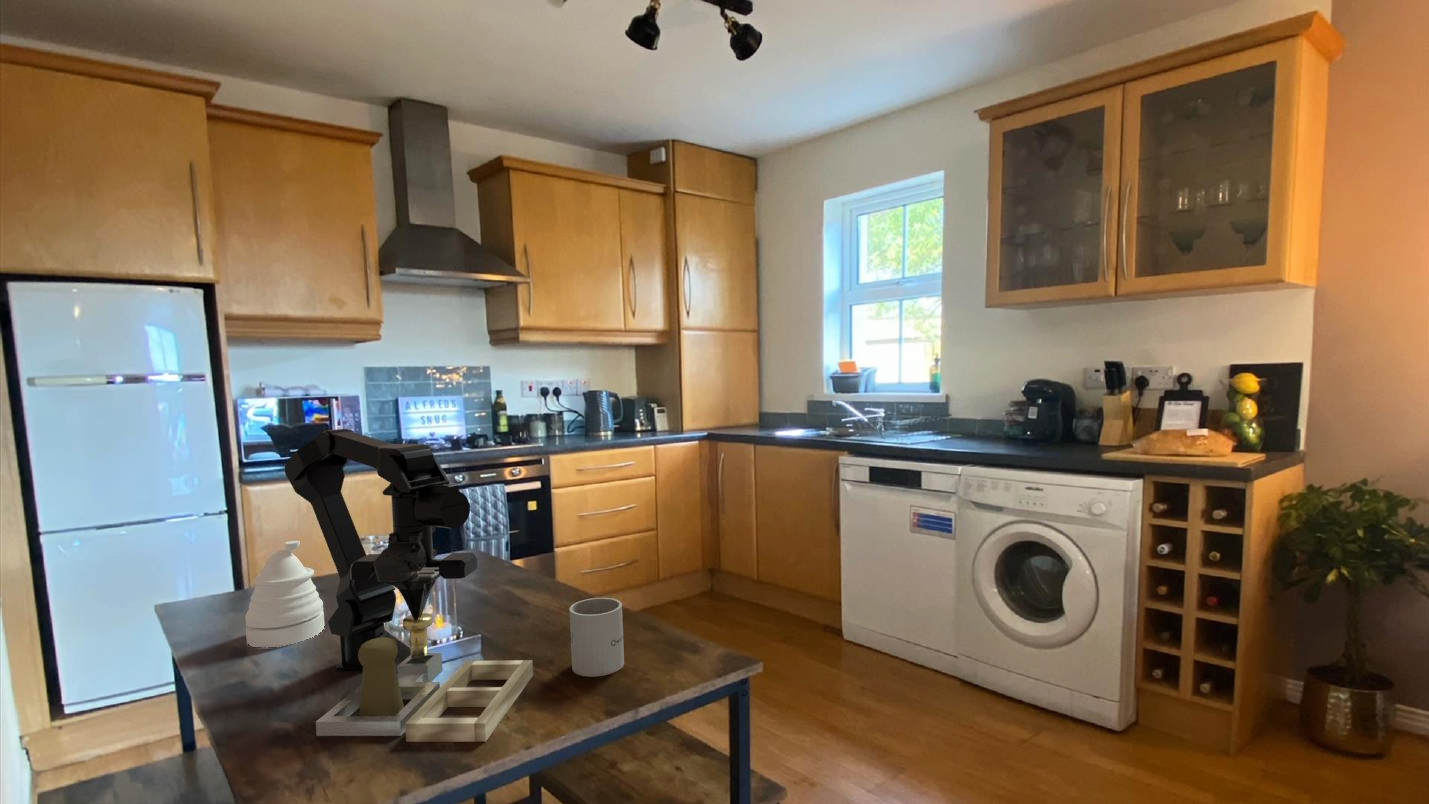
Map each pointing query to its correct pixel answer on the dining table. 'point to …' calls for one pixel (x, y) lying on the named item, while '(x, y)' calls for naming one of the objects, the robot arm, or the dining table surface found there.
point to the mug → (596, 636)
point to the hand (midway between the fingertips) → (417, 618)
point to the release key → (418, 634)
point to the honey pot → (284, 602)
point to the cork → (379, 678)
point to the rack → (470, 702)
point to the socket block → (414, 686)
